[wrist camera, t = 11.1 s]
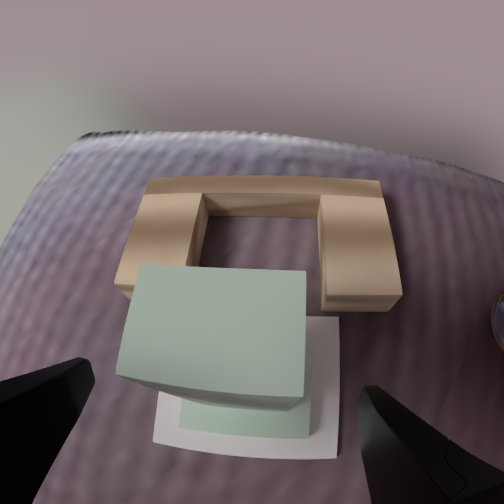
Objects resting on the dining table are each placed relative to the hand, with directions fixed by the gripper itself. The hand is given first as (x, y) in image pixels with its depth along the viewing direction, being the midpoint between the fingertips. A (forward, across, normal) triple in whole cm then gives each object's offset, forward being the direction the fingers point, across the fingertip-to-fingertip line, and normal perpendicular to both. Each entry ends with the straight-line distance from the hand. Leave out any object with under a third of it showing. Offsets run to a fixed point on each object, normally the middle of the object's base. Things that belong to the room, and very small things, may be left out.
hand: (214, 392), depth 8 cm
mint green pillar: (+9, 0, +6) cm, 11 cm away
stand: (+16, 0, 0) cm, 16 cm away
